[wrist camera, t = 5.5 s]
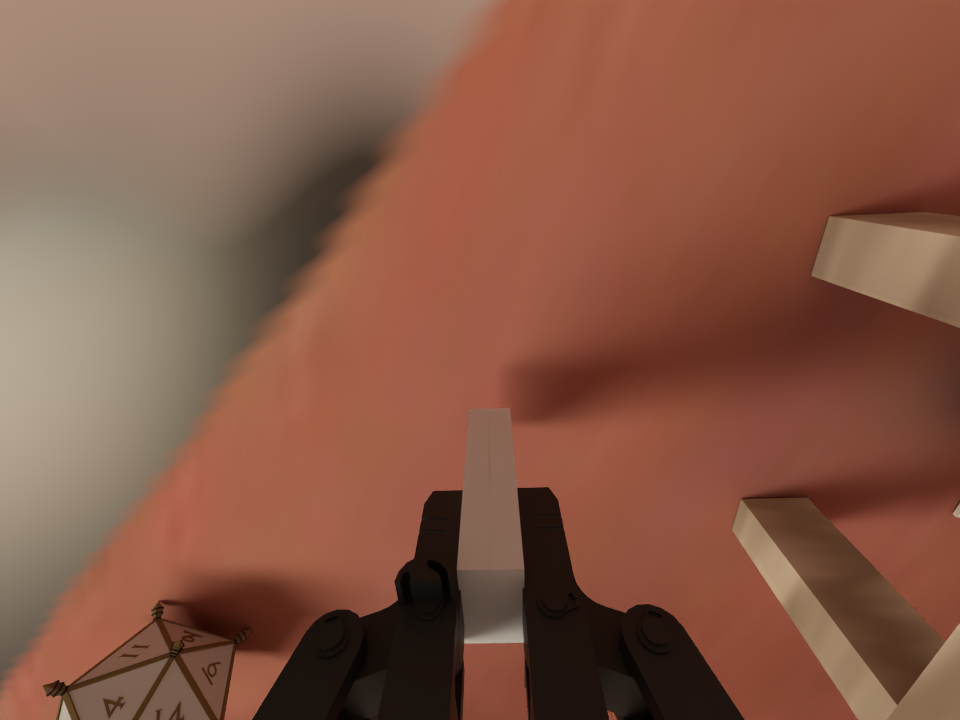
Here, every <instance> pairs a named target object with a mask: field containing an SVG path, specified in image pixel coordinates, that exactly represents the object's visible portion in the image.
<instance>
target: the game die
mask: <svg viewBox="0 0 960 720" xmlns="http://www.w3.org/2000/svg"><path fill="white" fill-rule="evenodd" d="M163 609H164V607H162V605H161V604H160V602H159V601H158V603H157V604H156V606H155V607H154V609H153V610H151V611H153V614H152V615H151V616H153V621H152V622H151V623H149V624H148V625H147V626H146V627H144V628H143V629H142V630H140V631H139V632H138V633H136V634H135V635H134V636H133V637H131V638H130V639H129V640H127V641H126V642H125V643H123V644H122V645H121V646H120V647H118V648H117V649H116V650H114V651H113V652H112V653H110V654H109V655H108V656H106V657H105V658H104V659H103V660H101V661H100V662H99V663H97V664H96V665H95V666H93V667H92V668H91V669H90V670H88V671H87V672H86V673H84V674H83V675H82V676H80V677H79V678H78V679H77V680H75V681H74V682H73V683H71V684H70V685H69V686H66V685H65V684H64V683H65V682H62V683H61V682H59V680H58V681H55V682H54V683H50V684H47V685H43V688H44V689H45V691H46V696H49V695H52V697H55V696H58V695H61V699H60V703H59V708H58V712H57V717H56V720H224V716H225V710H226V704H227V698H228V692H229V686H230V680H231V674H232V668H233V662H234V656H235V650H236V645H237V644H238V643H240V642H243V640H244V639H247V636H248V634H249V632H250V630H251V629H248V630H244V631H243V630H242V631H241V633H239V634H237V636H236V638H235V639H229V638H226V637H223V636H219V635H216V634H212V633H209V632H206V631H202V630H199V629H196V628H192V627H189V626H185V625H182V624H179V623H175V622H172V621H168V620H165V619H162V618H161V616H162V614H163Z"/></svg>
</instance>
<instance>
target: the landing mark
mask: <svg viewBox="0 0 960 720" xmlns="http://www.w3.org/2000/svg"><path fill="white" fill-rule="evenodd" d="M953 515H954V516H956V517H960V503H959V505H958V506H957V508H956V509H955V511H954V513H953Z"/></svg>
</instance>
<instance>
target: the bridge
mask: <svg viewBox="0 0 960 720" xmlns="http://www.w3.org/2000/svg"><path fill="white" fill-rule="evenodd" d="M811 276H813V277H815V278H818V279H821V280H824V281H827V282H830V283H833V284H835V285H838V286H841V287H844V288H847V289H850V290H853V291H856V292H858V293H861V294H864V295H867V296H870V297H873V298H876V299H878V300H881V301H884V302H887V303H890V304H893V305H896V306H898V307H901V308H904V309H907V310H910V311H913V312H916V313H918V314H921V315H924V316H927V317H930V318H933V319H936V320H938V321H941V322H944V323H947V324H950V325H953V326H956V327H958V328H960V216H956V215H947V214H938V213H929V212H909V213H887V214H866V215H844V216H829V219H828V222H827V225H826V229H825V232H824V235H823V238H822V241H821V245H820V248H819V251H818V254H817V257H816V261H815V264H814V267H813V270H812V274H811ZM732 531H733V532H734V534H735V535H736V537H737V538H738V540H739V541H740V543H741V544H742V546H743V547H744V549H745V550H746V552H747V553H748V555H749V556H750V558H751V559H752V561H753V562H754V564H755V565H756V567H757V568H758V570H759V571H760V573H761V574H762V576H763V577H764V579H765V580H766V582H767V583H768V585H769V586H770V588H771V589H772V591H773V592H774V594H775V595H776V597H777V598H778V600H779V601H780V603H781V604H782V606H783V607H784V609H785V610H786V612H787V614H788V615H789V617H790V618H791V620H792V621H793V623H794V624H795V626H796V627H797V629H798V630H799V632H800V633H801V635H802V636H803V638H804V639H805V641H806V642H807V644H808V645H809V647H810V648H811V650H812V651H813V653H814V654H815V656H816V657H817V659H818V660H819V662H820V663H821V665H822V666H823V668H824V669H825V671H826V672H827V674H828V675H829V677H830V678H831V680H832V681H833V683H834V684H835V686H836V687H837V689H838V690H839V692H840V693H841V695H842V696H843V698H844V699H845V701H846V702H847V704H848V705H849V707H850V708H851V710H852V711H853V713H854V714H855V716H856V717H857V719H858V720H960V623H959V625H958V626H957V627H956V629H955V630H954V631H953V633H952V634H951V635H950V637H949V638H948V639H947V641H946V642H945V641H944V640H943V639H942V638H941V637H940V635H939V634H938V633H937V632H936V631H935V630H934V629H933V628H932V627H931V626H930V625H929V624H928V623H927V622H926V621H925V620H924V619H923V618H922V617H921V616H920V615H919V614H918V612H917V611H916V610H915V609H914V608H913V607H912V606H911V605H910V604H909V603H908V602H907V601H906V600H905V599H904V598H903V597H902V596H901V595H900V594H899V593H898V592H897V590H896V589H895V588H894V587H893V586H892V585H891V584H890V583H889V582H888V581H887V580H886V579H885V578H884V577H883V576H882V575H881V574H880V573H879V572H878V571H877V570H876V569H875V567H874V566H873V565H872V564H871V563H870V562H869V561H868V560H867V559H866V558H865V557H864V556H863V555H862V554H861V553H860V552H859V551H858V550H857V549H856V548H855V547H854V546H853V544H852V543H851V542H850V541H849V540H848V539H847V538H846V537H845V536H844V535H843V534H842V533H841V532H840V531H839V530H838V529H837V528H836V527H835V526H834V525H833V524H832V523H831V521H830V520H829V519H828V518H827V517H826V516H825V515H824V514H823V513H822V512H821V511H820V510H819V509H818V508H817V507H816V506H815V505H814V504H813V503H812V502H811V501H810V500H809V498H765V499H741V502H740V505H739V508H738V512H737V515H736V518H735V521H734V524H733V528H732Z"/></svg>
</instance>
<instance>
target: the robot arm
mask: <svg viewBox="0 0 960 720" xmlns="http://www.w3.org/2000/svg"><path fill="white" fill-rule="evenodd" d="M419 531H420V533H419V536H418V541H417V547H416V552H415V557H414V559H413V560H411V561H409V562H407V563H406V564H405V565H404V566H403V567H402V569H401V570H400V571H399V572H398V575H397V577H396V579H395V587H396V591H397V596H398V601H396V602H395V603H394V604H392V605H391V606H390V607H387V608H385V609H383V610H381V611H378V612H375V613H372V614H370V615H367V616H364V617H361V618H359V616H358V615H357V614H356V613H354V612H352V611H350V610H335V611H332V612H329V613H326V614H325V615H323V616H322V617H320V618H319V619H318V620H316V621H315V622H314V623H313V624H312V625H311V627H310V628H309V629H308V630H307V632H306V633H305V635H304V636H303V638H302V639H301V641H300V643H299V644H298V646H297V648H296V649H295V651H294V652H293V654H292V656H291V657H290V659H289V661H288V662H287V664H286V665H285V667H284V669H283V670H282V672H281V674H280V675H279V677H278V678H277V680H276V682H275V683H274V685H273V687H272V688H271V690H270V691H269V693H268V695H267V696H266V698H265V700H264V701H263V703H262V705H261V706H260V708H259V709H258V711H257V713H256V714H255V716H254V718H253V719H252V720H462V717H463V694H464V671H465V670H464V661H463V651H464V643H524V653H525V688H526V694H527V708H528V720H609V717H608V712H607V710H608V711H611V712H613V713H615V716H616V718H617V720H744V718H743V717H742V715H741V714H740V712H739V711H738V709H737V708H736V706H735V705H734V703H733V702H732V700H731V699H730V697H729V696H728V694H727V693H726V691H725V690H724V688H723V687H722V685H721V684H720V682H719V680H718V679H717V677H716V676H715V674H714V673H713V671H712V670H711V668H710V667H709V665H708V664H707V662H706V661H705V659H704V658H703V656H702V655H701V653H700V652H699V650H698V649H697V647H696V646H695V644H694V643H693V641H692V640H691V638H690V637H689V635H688V634H687V632H686V631H685V629H684V628H683V626H682V625H681V624H680V623H679V622H678V621H677V620H676V618H675V617H674V616H673V615H671V614H670V613H668V612H667V611H665V610H663V609H662V608H659V607H656V606H653V605H649V604H644V605H636V606H634V607H632V608H630V609H629V610H628V611H627V612H626V613H624V612H621V611H618V610H615V609H611V608H608V607H605V606H603V605H600V604H598V603H596V602H594V601H593V600H591V599H590V598H588V597H587V596H586V595H585V594H584V593H583V592H582V591H581V590H580V588H579V586H578V585H577V583H576V581H575V578H574V575H573V570H572V565H571V561H570V556H569V551H568V546H567V541H566V537H565V532H564V528H563V522H562V517H561V513H560V508H559V503H558V499H557V498H556V497H555V495H554V494H553V493H552V491H551V490H550V489H549V488H548V487H542V488H517V482H516V471H515V460H514V449H513V438H512V427H511V416H510V408H488V409H469V415H468V429H467V442H466V455H465V468H464V481H463V490H458V491H433V492H432V494H431V495H430V497H429V498H428V500H427V501H426V502H425V504H424V509H423V514H422V521H421V525H420V530H419Z"/></svg>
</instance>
